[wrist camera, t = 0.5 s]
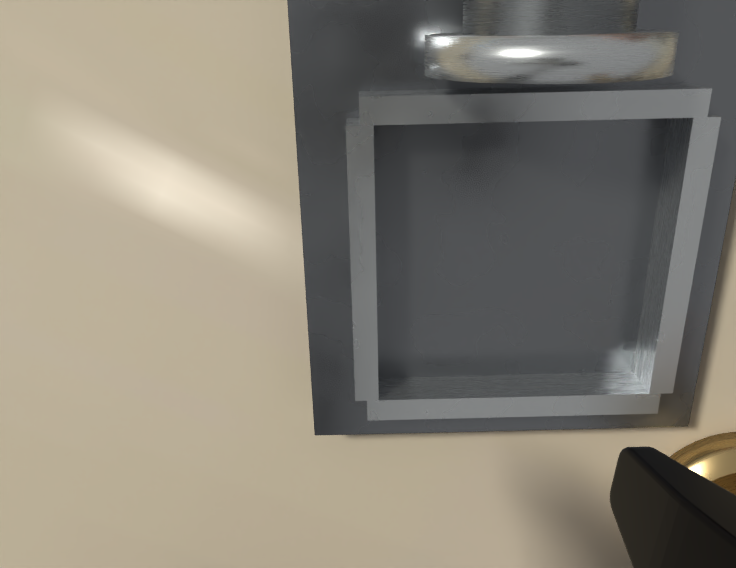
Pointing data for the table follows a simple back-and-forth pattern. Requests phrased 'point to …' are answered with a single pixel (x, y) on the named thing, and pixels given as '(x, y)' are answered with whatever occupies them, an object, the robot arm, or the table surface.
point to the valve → (712, 459)
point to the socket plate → (510, 208)
